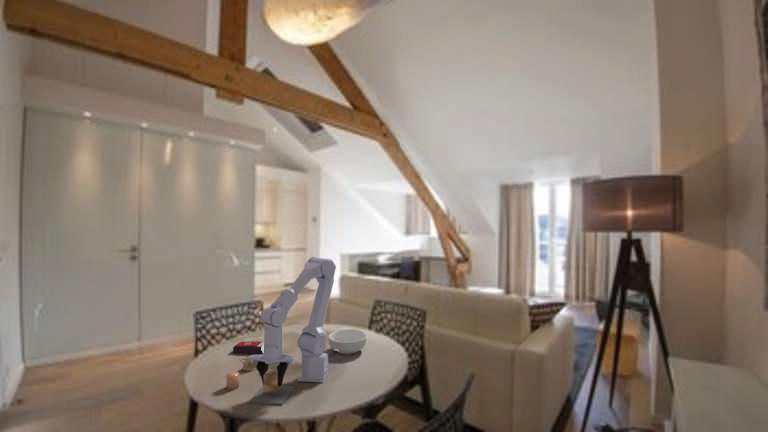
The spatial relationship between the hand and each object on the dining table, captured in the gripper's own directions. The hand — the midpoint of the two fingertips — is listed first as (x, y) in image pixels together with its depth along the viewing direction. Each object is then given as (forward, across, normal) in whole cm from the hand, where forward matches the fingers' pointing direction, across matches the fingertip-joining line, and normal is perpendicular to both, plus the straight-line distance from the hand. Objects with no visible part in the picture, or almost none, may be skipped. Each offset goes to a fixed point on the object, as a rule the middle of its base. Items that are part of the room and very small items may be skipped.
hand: (272, 384), depth 114 cm
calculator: (+4, -24, +38) cm, 45 cm away
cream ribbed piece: (+4, -17, +19) cm, 26 cm away
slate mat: (+4, 0, 0) cm, 4 cm away
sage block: (+4, -7, +20) cm, 22 cm away
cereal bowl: (+4, +18, +40) cm, 44 cm away
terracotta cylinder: (+4, -16, +4) cm, 17 cm away
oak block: (+1, 0, 0) cm, 1 cm away
